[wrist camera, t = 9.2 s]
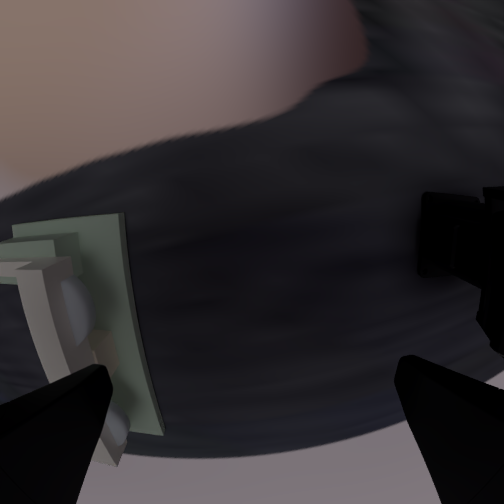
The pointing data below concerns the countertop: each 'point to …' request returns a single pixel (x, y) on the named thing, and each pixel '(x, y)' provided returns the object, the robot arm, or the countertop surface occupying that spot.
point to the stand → (100, 301)
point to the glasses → (64, 332)
